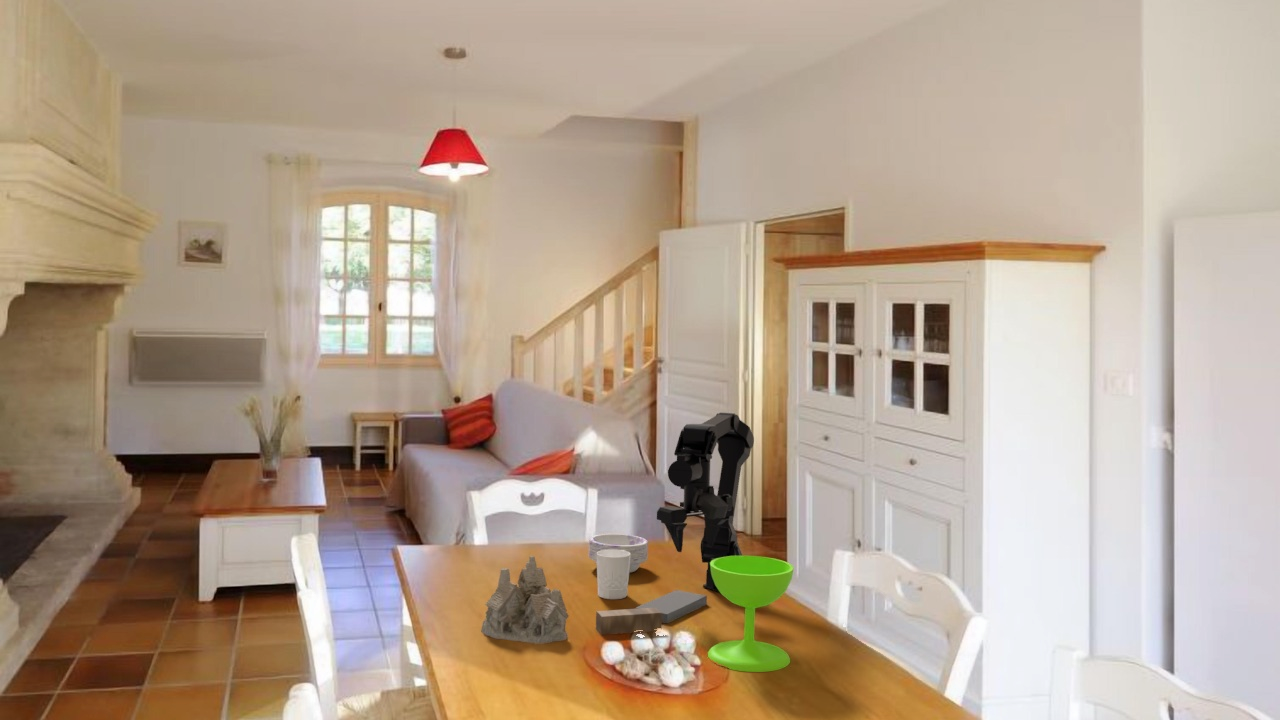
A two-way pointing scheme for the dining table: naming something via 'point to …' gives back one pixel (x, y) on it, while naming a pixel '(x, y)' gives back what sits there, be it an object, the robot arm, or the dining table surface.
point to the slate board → (676, 604)
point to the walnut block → (628, 620)
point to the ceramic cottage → (526, 608)
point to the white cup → (613, 573)
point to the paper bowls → (620, 547)
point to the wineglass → (750, 608)
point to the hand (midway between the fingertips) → (694, 549)
